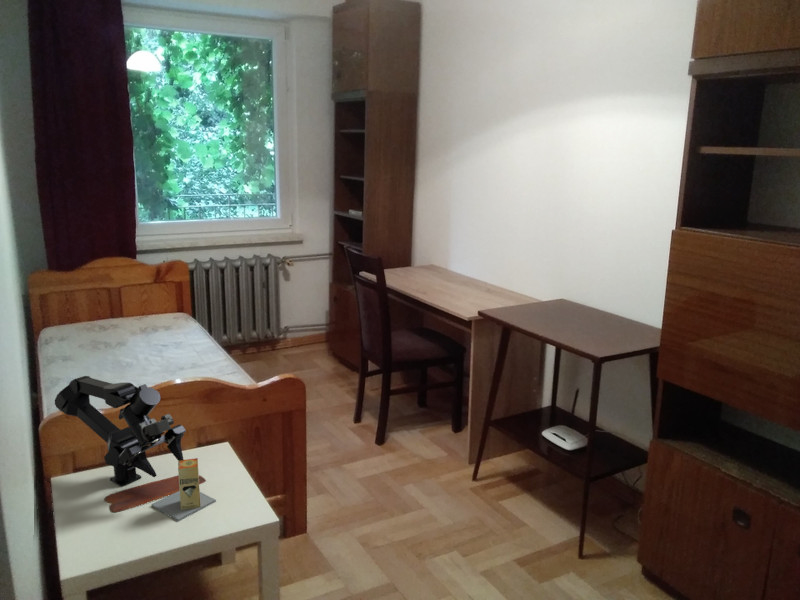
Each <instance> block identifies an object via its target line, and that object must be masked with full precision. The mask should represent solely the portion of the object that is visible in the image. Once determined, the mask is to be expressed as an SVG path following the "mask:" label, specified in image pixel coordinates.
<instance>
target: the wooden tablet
mask: <svg viewBox="0 0 800 600" xmlns="http://www.w3.org/2000/svg"><path fill="white" fill-rule="evenodd" d="M205 482H207V480H206V479H205V477H203V476H202V475H199V485H202V484H204V483H205ZM178 491H180V489H179V475H174V476H171V477H167V478H163V479H159V480H156V481H152V482H148V483H147V482H146V483H144V484H140V485H137V486H133V487H130V488H126V489H124V490H120V491H116V492H114V493H111V494H109V495H106V496H105V497H104V502H106V503H107V504H110V505H109V510H110V512H111V513H114V514H116V513H118V512H123V511H127V510H130V509H134V508H135V507H136V506H137V507H140V506H142V505H141V504H143V505H145V503H146V504H148V503H147V502H149V503H151V501H152V502H154V501H153V500H155V501H158V500H160V499H163V498H165V497H164V496H166V497H168V495H169V496H170V495H172V494H174V493H176V492H178ZM162 497H163V498H162ZM159 498H160V499H159ZM157 499H158V500H157ZM139 505H140V506H139ZM129 508H130V509H129ZM126 509H127V510H126Z"/></svg>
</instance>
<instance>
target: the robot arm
mask: <svg viewBox="0 0 800 600" xmlns="http://www.w3.org/2000/svg"><path fill="white" fill-rule="evenodd" d="M90 396H91V397H95V398H99V399H102V400H104V403H105V405H108V406H109V407H111V408H113V409H118V408H121V407H123V406H125V405H126V406H125V407H123V408H121V409H120V410H119V415H118V419H119V420H123V419H124V421H125V422H126V425H127V427H124V428H123V429H120V428H119V427H118V426H117V425H116V424H114V423H113V422H112V421H111V420H110V419H109V418H107V417H106V416H105V414H103V413H102V412H100V411H99V410H98V409H96V407H95V406H94V405H92V404H91V403H90V402H91V401H90ZM160 401H161V394H160V392H159V391H158V390H156V389H155V388H153V387H150V386H147V384H142V385H139V386H138V387H137V386H135V385H134V384H133V383H132V382H117V383H112V382H108V381H104V380H101V379H97V378H92V377H91V376H89V375H84V376H79V377H77V378H74V379H73V378H72V380H70V382H69V383H68V384H67V386H66V387H64V388H62V390H60V391H59V392H58V393H57V395H56V397H55V399H54V405H55V407H56V409H58V410H59V411H60V412H62V413H63V414H64V415H67V416H72V417H76V418H78V419H80V420H81V422H83V423H84V424H85V425H86V426H87V427H89V428H90V430H92V431H93V432H94V433H95V434H96V435H98V436H99V437H100V438H101V439H102V440H103V441H104V442H105V443H107V444H106V445H107V451H108V452H107V453H106V454H105V455H104V461H105V464H107V466H108V465H109V466H110V467H113V474H114V476H111V477H109V481H110V482H112V483H114V484H115V485H118V486H119V487H123V486H126V485H129V484H131V483H133V482H135V481H137V480H139V479H142V475H140V474H138V473H137V469H139V470H140V471H142V472H144V473H146V474H147V475H149V476H151V477H153V478H156V477H157V473H156V471H155V469H154V468H153V466H152V465H151V463H150V461H149V460H148V458H147V453H146V451H147V450H151V449H152V448H154V447H157V446H159V445H161V444H163V443H165V444H166V445H167V446H166V448H167V449H168V450H169V451H170V452H171V454H172V456H174V457H175V459H176V460H177V462H178V461H179V460H185V459H184V456H183V450H182V444H181V443H182V438H183V437H184V434H185V433H186V432H187V430H186V428H185V426H183V425H182V424H181V423H180V424H177V425H174V424H175V421H174V418H173V417H172V415H171V414H170V413H167V414H165V415H163V416H161V417H160V418H161V419H159V420H158V421H157V420H156V419H155V418H154V417H153V418H151V417H150V415H149V414H150V413H151V412H152V411H153V410H154V409H155V407H156V406H157V405H158V404H159V403H160ZM172 425H174V426H172ZM171 426H172V427H171Z"/></svg>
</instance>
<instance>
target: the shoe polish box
mask: <svg viewBox="0 0 800 600" xmlns="http://www.w3.org/2000/svg"><path fill="white" fill-rule="evenodd" d="M198 459H199V458H198V457H196V458H187V459H184V460H179V461H178V460H177V462H178V463H177V466H178V467H177V471H178V472H177V473H178V475H179V489H180V503H181V510H185V509H192V508H198V507H200V492H201V490H200V484H199V476H200V475H199V461H198Z"/></svg>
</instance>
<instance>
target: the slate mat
mask: <svg viewBox="0 0 800 600" xmlns="http://www.w3.org/2000/svg"><path fill="white" fill-rule="evenodd" d="M216 502H217V499H215V498H213V497H212V496H210V495H207V494H205V493H204V492H202V491H200V507H198V508H192V509H185V510H181V503H180V491H178V492H176V493H174V494H172V495H169V496H166V497H163V498H160V499H158V500H156V501H155V502H153V503H150V504H151V507H152V506H153V507H152V508H154V509H155V508H156V509H155V510H157V509H158V511H159V510H160V511H159V512H161V511H162V512H161V513H163V512H164V513H165V515H166V514H167V516H168V515H169V516H168V517H170V516H171V517H170V518H171V519H173V518H174V520H175V521H177V522H180V521H183V520H184V519H185V518H187V516H188V517H189V515H190V516H191V515H194V514H195V513H197V512H199V511H201V510H203V509H205V508H207V507H209V506H211V505H213V504H215V503H216ZM210 504H211V505H210ZM208 505H209V506H208ZM206 506H207V507H206ZM164 513H163V514H164Z"/></svg>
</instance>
